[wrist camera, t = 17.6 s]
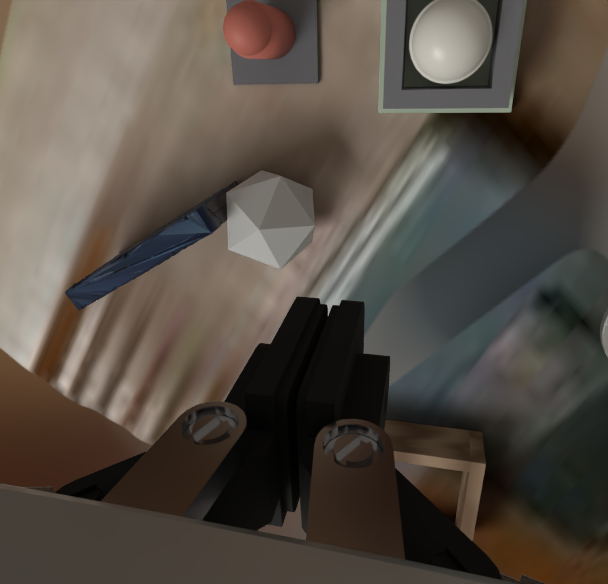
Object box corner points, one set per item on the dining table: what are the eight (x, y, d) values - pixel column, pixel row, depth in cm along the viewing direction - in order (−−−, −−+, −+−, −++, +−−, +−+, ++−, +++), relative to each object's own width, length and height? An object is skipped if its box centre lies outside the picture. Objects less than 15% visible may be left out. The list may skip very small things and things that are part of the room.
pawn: (297, 9, 42) (266, -2, 35) (293, 61, 44) (263, 61, 36) (252, 6, 43) (213, -7, 35) (250, 57, 45) (212, 55, 37)
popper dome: (493, -6, 38) (502, -13, 33) (483, 80, 40) (490, 85, 35) (413, -1, 39) (409, -7, 34) (408, 82, 42) (404, 87, 37)
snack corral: (482, 432, 57) (485, 464, 53) (465, 532, 65) (467, 568, 60) (336, 413, 61) (328, 441, 57) (336, 510, 68) (330, 542, 64)
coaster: (317, -22, 41) (316, -23, 41) (318, 82, 45) (317, 82, 44) (226, -16, 43) (225, -17, 43) (235, 84, 46) (233, 84, 46)
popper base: (531, -44, 37) (542, -54, 33) (509, 110, 42) (516, 117, 38) (384, -34, 40) (378, -42, 36) (379, 111, 45) (373, 118, 41)
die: (278, 160, 51) (199, 215, 50) (297, 140, 43) (202, 206, 41) (324, 228, 53) (249, 283, 51) (351, 222, 44) (262, 288, 43)
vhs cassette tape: (130, 272, 59) (77, 312, 50) (114, 251, 58) (58, 287, 49) (252, 204, 52) (215, 237, 43) (237, 179, 51) (196, 207, 42)
